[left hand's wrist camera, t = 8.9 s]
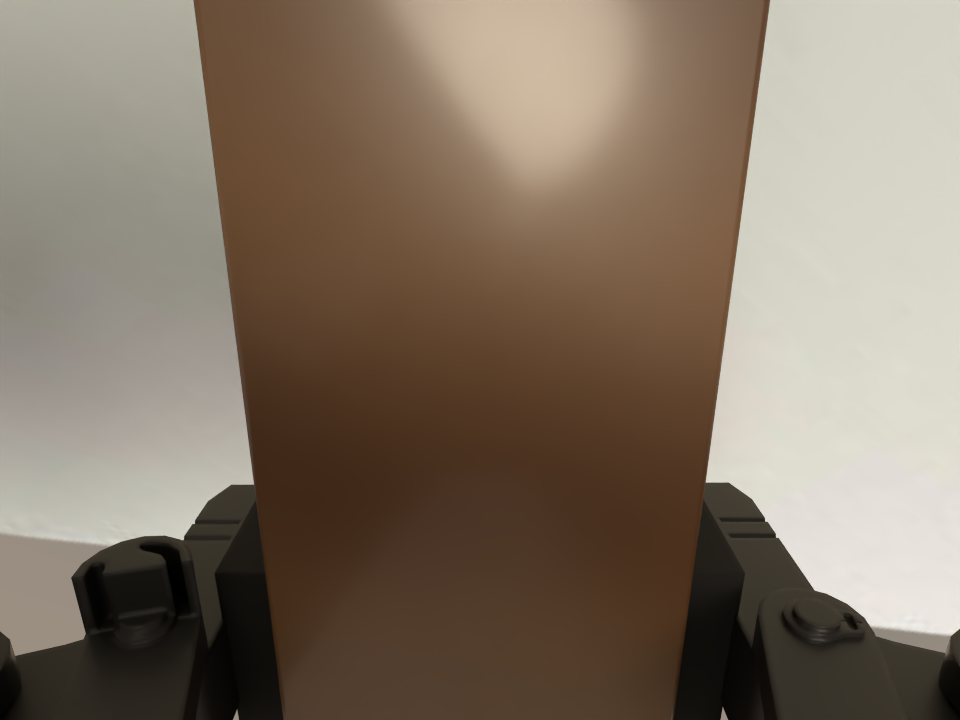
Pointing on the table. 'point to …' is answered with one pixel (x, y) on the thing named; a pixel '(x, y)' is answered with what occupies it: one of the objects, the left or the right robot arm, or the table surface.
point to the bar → (480, 336)
